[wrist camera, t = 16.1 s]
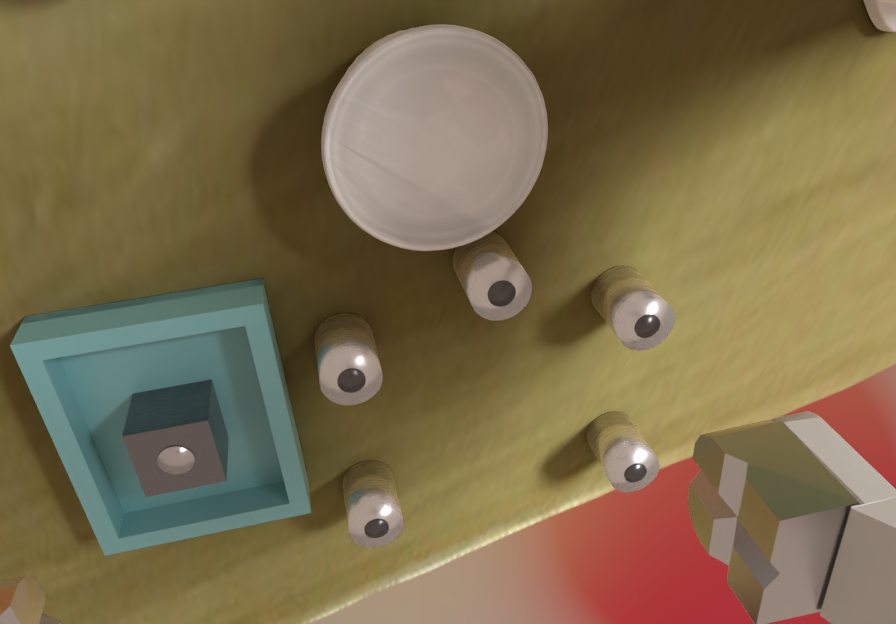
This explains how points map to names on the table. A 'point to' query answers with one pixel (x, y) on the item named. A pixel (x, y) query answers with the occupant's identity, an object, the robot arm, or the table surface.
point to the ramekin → (434, 137)
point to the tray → (159, 366)
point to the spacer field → (494, 298)
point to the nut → (177, 438)
